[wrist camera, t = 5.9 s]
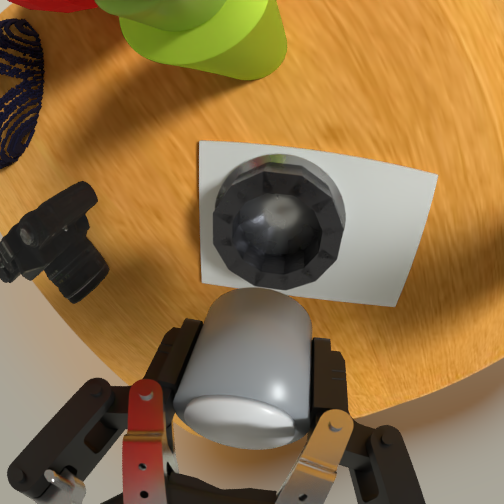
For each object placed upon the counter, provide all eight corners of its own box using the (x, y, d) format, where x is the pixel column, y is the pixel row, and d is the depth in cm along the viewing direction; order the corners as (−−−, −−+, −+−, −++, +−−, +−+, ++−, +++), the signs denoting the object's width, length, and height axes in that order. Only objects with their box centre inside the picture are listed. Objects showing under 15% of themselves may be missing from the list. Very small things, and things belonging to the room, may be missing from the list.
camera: (74, 288, 35) (33, 337, 26) (31, 226, 31) (-20, 265, 22) (137, 253, 30) (86, 314, 21) (83, 170, 26) (13, 209, 17)
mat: (436, 174, 21) (438, 175, 20) (394, 304, 28) (395, 307, 27) (200, 140, 23) (199, 141, 22) (203, 280, 30) (201, 282, 30)
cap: (322, 295, 12) (325, 406, 8) (302, 367, 15) (295, 458, 10) (205, 279, 13) (159, 378, 8) (209, 353, 15) (180, 439, 11)
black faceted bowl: (355, 163, 21) (364, 174, 18) (331, 279, 27) (334, 303, 24) (217, 147, 22) (203, 156, 20) (216, 264, 28) (205, 285, 25)
